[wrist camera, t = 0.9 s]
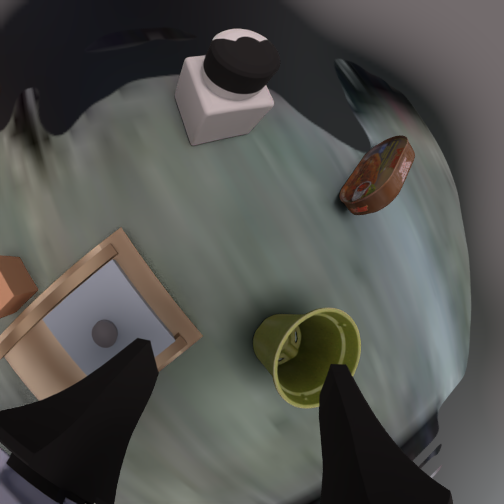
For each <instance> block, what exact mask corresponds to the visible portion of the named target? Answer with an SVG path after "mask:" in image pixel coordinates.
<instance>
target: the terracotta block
mask: <svg viewBox="0 0 504 504" xmlns="http://www.w3.org/2000/svg"><path fill="white" fill-rule="evenodd" d="M37 291H38V288H37V287H36V285H35V283H34V282H33V280H32V278H31V277H30V275H29V273H28V271H27V270H26V268H25V266H24V264H23V262H22V261H21V259H20V257H12V256H0V318H2V317H5V316H7V315H10V314H13V313H15V312H17V311H18V310H19V309H20V308H21V307H22V306H23V305H24V304H25V303H26V302H27V301H28V300H29V299H30V298H31V297H32V296H33V295H34V294H35V293H36V292H37Z"/></svg>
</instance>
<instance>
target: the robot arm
mask: <svg viewBox="0 0 504 504" xmlns="http://www.w3.org/2000/svg"><path fill="white" fill-rule="evenodd" d="M158 373H159V372H158V368H157V365H156V361H155V357H154V353H153V349H152V345H151V341H150V340H145V339H141V338H137V339H135V340H134V341H133V342H132V343H130V344H129V345H128V346H126V347H125V348H124V349H123V350H121V351H120V352H119V353H118V354H116V355H115V356H114V357H112V358H111V359H110V360H109V361H107V362H106V363H105V364H103V365H102V366H101V367H99V368H98V369H97V370H95V371H94V372H92V373H91V374H89V375H88V376H86V377H85V378H83V379H82V380H80V381H79V382H77V383H75V384H74V385H72V386H70V387H68V388H66V389H65V390H63V391H61V392H59V393H56V394H54V395H52V396H50V397H47V398H45V399H43V400H40V401H37V402H34V403H31V404H28V405H25V406H21V407H17V408H12V409H7V410H1V411H0V442H1V443H2V444H3V445H4V446H5V447H6V448H7V449H9V450H10V451H11V452H12V454H11V455H8V454H7V453H6V452H5V451H4V450H3V449H2V448H1V447H0V504H85V503H86V504H94V503H96V504H114V502H115V495H116V489H117V484H118V479H119V475H120V470H121V467H122V463H123V459H124V456H125V453H126V450H127V446H128V443H129V440H130V438H131V435H132V433H133V431H134V429H135V427H136V425H137V423H138V420H139V418H140V416H141V414H142V412H143V410H144V408H145V406H146V404H147V402H148V400H149V398H150V396H151V394H152V391H153V389H154V386H155V383H156V380H157V376H158ZM319 423H320V435H321V446H322V459H323V477H322V491H321V501H320V504H453V500H452V496H451V492H450V490H448V489H446V488H445V487H444V486H442V485H441V484H439V483H437V482H436V481H435V480H433V479H432V478H431V477H430V476H428V475H427V474H426V473H425V472H423V471H422V470H421V469H420V468H419V467H418V466H417V465H416V464H415V463H414V462H413V461H412V460H411V459H410V458H409V457H408V456H406V454H405V453H404V452H403V451H402V450H401V449H400V448H399V447H398V446H397V444H396V443H395V442H394V441H393V440H392V438H391V437H390V436H389V435H388V433H387V432H386V431H385V429H384V428H383V426H382V425H381V423H380V422H379V421H378V419H377V418H376V416H375V415H374V413H373V411H372V410H371V408H370V407H369V405H368V403H367V402H366V400H365V398H364V397H363V395H362V393H361V391H360V389H359V388H358V386H357V384H356V382H355V380H354V378H353V376H352V374H351V372H350V370H349V368H348V366H347V365H346V364H331V365H330V368H329V370H328V373H327V376H326V379H325V381H324V384H323V387H322V389H321V392H320V395H319Z"/></svg>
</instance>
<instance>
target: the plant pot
mask: <svg viewBox="0 0 504 504" xmlns="http://www.w3.org/2000/svg"><path fill="white" fill-rule="evenodd" d="M295 331H296V332H297V337H298V339H297V342H296V343H295V333H294V332H295ZM253 348H254V352H255V355H256V356H257V358H258V359H259V360H260V361H261V363H262V364H263V365H264V366H265V367H266V369H267V370H268V371H269V372H270V374H271V375H272V376H273V381H274V384H275V387H276V389H277V391H278V393H279V394H280V396H281V397H282V398H283V399H284V400H285V401H286V402H288V403H289V404H291V405H293V406H295V407H298V408H315V407H319V395H320V392H321V389H322V387H323V384H324V381H325V379H326V376H327V373H328V370H329V368H330V365H331V364H346V365H347V366H348V368H349V370H350V372H351V374H352V376H353V375H354V373H355V371H356V368H357V366H358V363H359V359H360V353H361V340H360V335H359V331H358V328H357V326H356V324H355V322H354V321H353V319H352V318H351V317H350V316H349V315H348V314H346V313H345V312H344V311H342V310H339V309H336V308H320V309H316V310H313V311H311V312H309V313H307V314H302V315H297V314H276V315H273V316H270V317H268V318H266V319H265V320H264V321H263V323H262V324H261V325H260V326H259V328H258V329H257V330H256V332H255V334H254V338H253ZM283 357H284V359H283V360H281V361H278V359H279V358H283Z"/></svg>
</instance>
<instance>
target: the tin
mask: <svg viewBox="0 0 504 504" xmlns="http://www.w3.org/2000/svg"><path fill="white" fill-rule="evenodd" d="M414 158H415V153H414V151H413V149H412V147H411V145H410V143H409V142H408V139H407V137H405V136H395V137H391V138H389V139H387V140H385V141H383V142H381V143H379V144H378V145H376V146H375V147H373V148H372V149H371V150H370V151H368V152H367V153H366V154H365V156H364V157H363V158H362V160H361V161H360V163H359V164H358V166H357V167H356V169H355V170H354V172H353V173H352V174H351V176H350V177H349V179H348V180H347V182H346V183H345V185H344V186H343V188H342V189H341V191H340V195H339V197H340V200H341V201H342V202H343V203H344V204H345V205H346V207H347V208H348V210H349V211H350V212H351V213H352V214H354V215H365V214H369V213H374V212H377V211H379V210H381V209H383V208H384V207H386V206H387V205H388V204H390V203H391V202H392V201H393V200H394V199H395V198H396V196H397V195H398V194H399V192H400V190H401V188H402V186H403V184H404V181H405V179H406V177H407V175H408V172H409V170H410V168H411V165H412V163H413V161H414Z"/></svg>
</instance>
